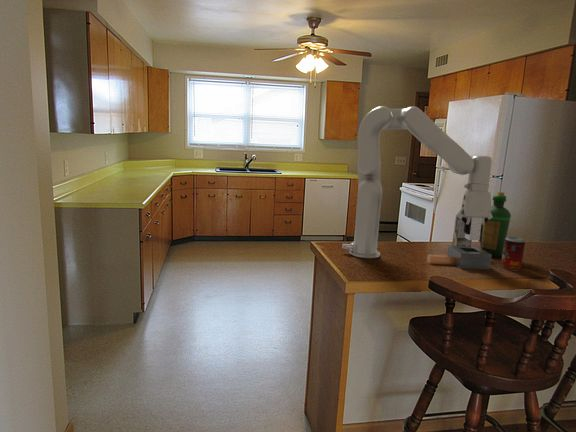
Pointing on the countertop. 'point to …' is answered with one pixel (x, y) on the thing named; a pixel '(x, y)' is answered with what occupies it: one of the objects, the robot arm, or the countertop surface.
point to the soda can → (513, 253)
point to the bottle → (496, 227)
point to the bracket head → (463, 257)
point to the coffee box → (460, 234)
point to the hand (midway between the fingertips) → (472, 233)
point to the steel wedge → (474, 229)
